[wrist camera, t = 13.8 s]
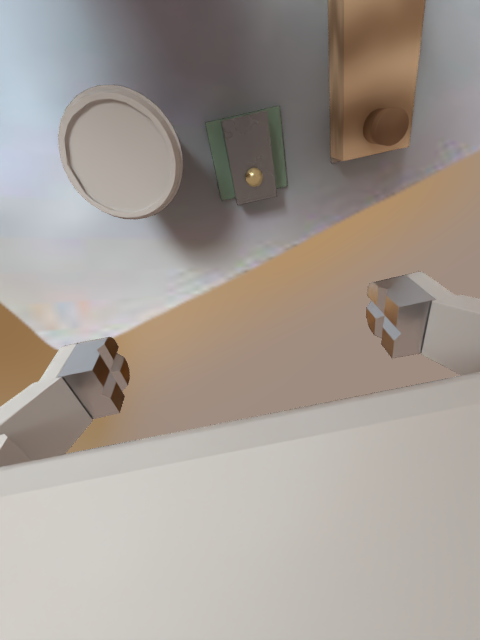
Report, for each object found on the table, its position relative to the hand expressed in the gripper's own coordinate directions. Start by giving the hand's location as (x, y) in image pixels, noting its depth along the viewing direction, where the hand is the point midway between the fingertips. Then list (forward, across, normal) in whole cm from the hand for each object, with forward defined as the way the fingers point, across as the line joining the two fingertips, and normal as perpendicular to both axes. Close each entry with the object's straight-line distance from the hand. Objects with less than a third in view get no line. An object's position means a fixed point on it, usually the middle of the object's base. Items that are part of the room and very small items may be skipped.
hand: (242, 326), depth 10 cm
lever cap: (+30, -4, -1) cm, 31 cm away
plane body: (+31, -17, -9) cm, 37 cm away
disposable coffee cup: (+31, +7, -4) cm, 32 cm away
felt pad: (+31, -4, -1) cm, 31 cm away
